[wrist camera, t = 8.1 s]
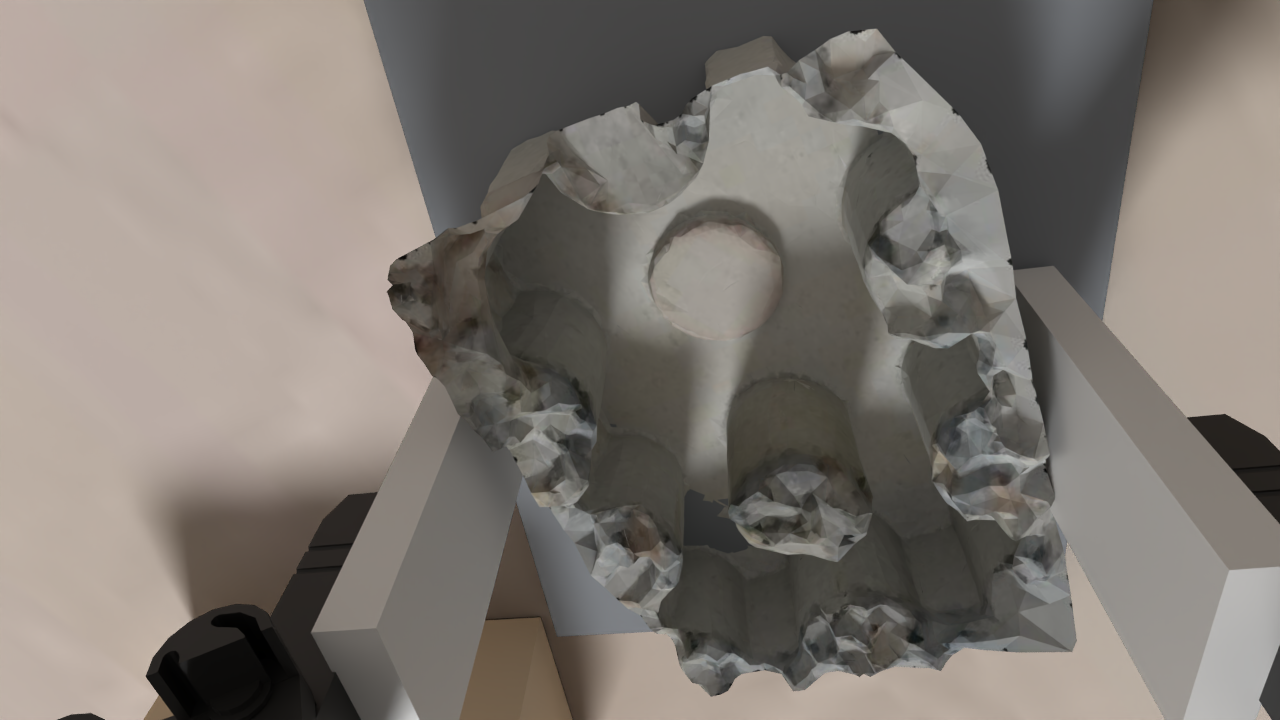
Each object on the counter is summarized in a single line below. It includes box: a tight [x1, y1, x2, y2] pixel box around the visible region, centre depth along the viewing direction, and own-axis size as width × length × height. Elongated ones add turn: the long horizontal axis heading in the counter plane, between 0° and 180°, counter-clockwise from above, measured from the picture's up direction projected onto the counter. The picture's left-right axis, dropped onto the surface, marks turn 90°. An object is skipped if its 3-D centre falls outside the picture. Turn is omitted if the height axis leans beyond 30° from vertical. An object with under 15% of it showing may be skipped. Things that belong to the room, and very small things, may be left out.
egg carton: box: [387, 29, 1077, 696], centre depth 13 cm, size 11×8×4 cm
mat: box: [364, 0, 1153, 637], centre depth 15 cm, size 11×14×1 cm
